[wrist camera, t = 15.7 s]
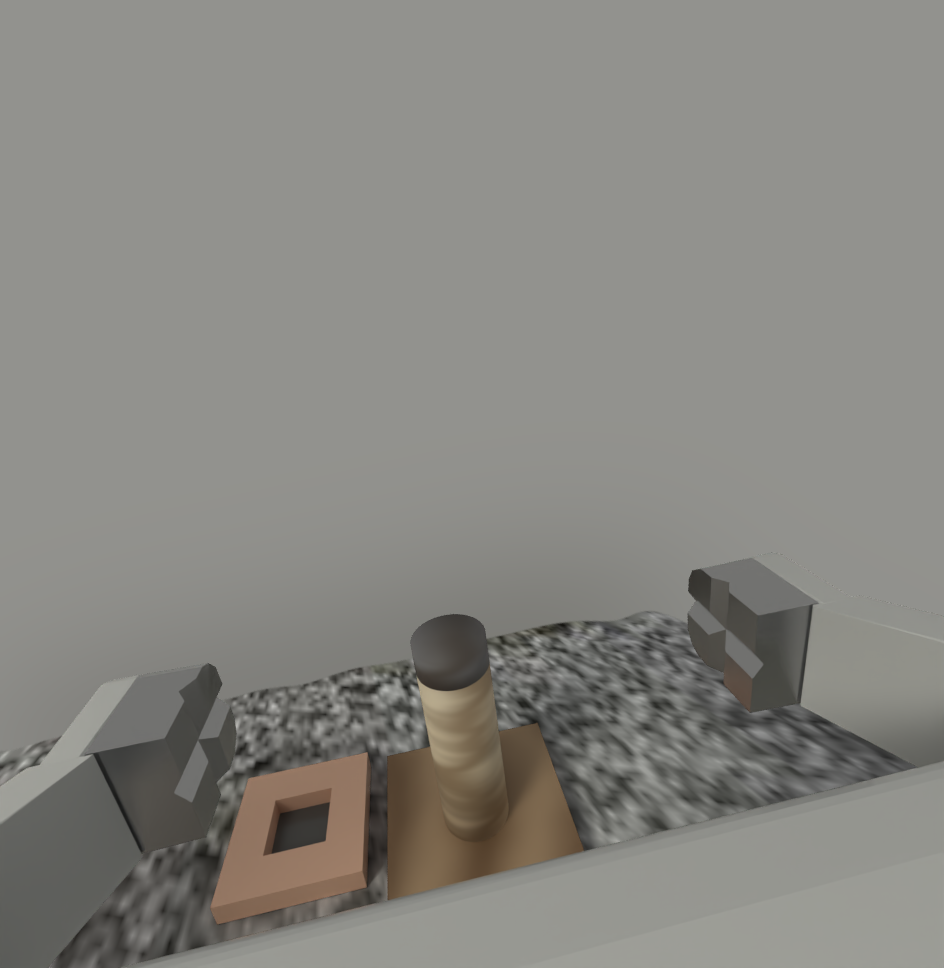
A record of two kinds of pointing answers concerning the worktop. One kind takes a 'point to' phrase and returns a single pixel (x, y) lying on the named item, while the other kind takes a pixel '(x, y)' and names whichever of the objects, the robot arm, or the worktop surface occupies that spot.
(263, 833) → the frame
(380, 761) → the worktop surface
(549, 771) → the walnut board
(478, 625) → the beech tool handle
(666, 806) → the worktop surface
